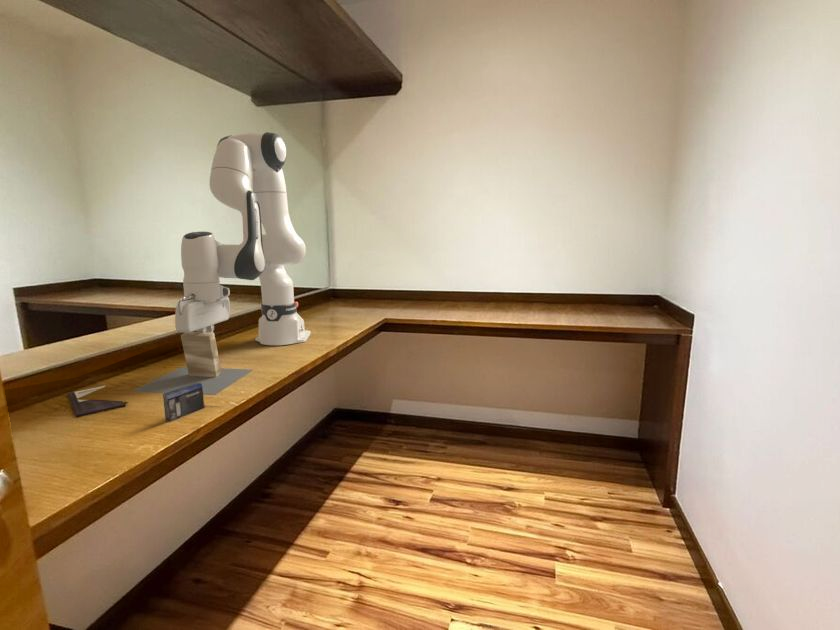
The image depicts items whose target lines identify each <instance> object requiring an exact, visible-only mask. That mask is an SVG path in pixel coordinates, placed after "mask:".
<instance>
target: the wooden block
mask: <svg viewBox="0 0 840 630" xmlns="http://www.w3.org/2000/svg"><path fill="white" fill-rule="evenodd" d="M215 336H216V335H215V332H213V333H206V332H196V331H193V332H190V333H182V334H180V340H181V344H182V348H183V353H184V354H183V355H184V358H185V363H186V364H185V365H186V367H187V368H188V373H189V376H207V377H217V376H218V375H219V374H221V373H222V372H221V363H220V357H219V353H218V346H217V341H216V337H215Z"/></svg>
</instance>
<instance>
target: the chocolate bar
mask: <svg viewBox="0 0 840 630" xmlns="http://www.w3.org/2000/svg"><path fill="white" fill-rule="evenodd" d="M108 385H109V384H108ZM108 385H102V386H98V387H92V388H87V389H82V390H78V391H72V392H67V397H68V400H69V403H70V406H71V408H72V410H73V414H74V415H75V418H81V417H86V416H91V415H95V414H99V413H103V412H107V411H112V410H117V409H121V408H126V403H125V401H123V400H108V399H107V400H103V399H102V400H101V399H87V398H86V399H85V398H84V399H82V398H81V397H84V396H86V395H89V394H92V393H94V392H96V391H98V390H100V389H103V388H105V387H107V386H108ZM79 398H80V399H79Z"/></svg>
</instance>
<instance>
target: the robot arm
mask: <svg viewBox="0 0 840 630" xmlns="http://www.w3.org/2000/svg"><path fill="white" fill-rule="evenodd" d="M287 157H288V152H287V146H286V143H285V141H284V139H283V138H282V137H281V136H280V135H279V134H277V133H275V132H269V131H267V132H247V133H241V134H240V133H239V134H235V135H227V136H224V137H222V138H220V139H219V141H218V142H217V145H216V150H215V153H214V155H213V158H212V164H211V167H210V168H211V170H210V176H209V189H210V192H211V194H212V196H213V197H214V198H215V199H216V200H218V202H220V203H221V204H223V205H225V206H227V207H229V208H231V209H234V210H235V211H238V212H240V214H241V217H242V236H243V237H242V239H243V240H242V241H241V243H239V244H224V243H221V242H220V241H217V240H216V238H215V235H214V233H213V232H209V231H193V232H189V233H185V235H183V237H182V239H181V244H180V260H181V267H182V270H183V279H182V283H183V284H182V285H183V294H184V295H183V296H181V297H180V298H179V300H178V301H177V304H176V307H175V313H174V315H175V317H174V324H175V325H174V326H175V330H176V332H178V333H180V334H181V333H182V334H184V333H190V332H206V333H214V330H215V325H216V324H218V323H221V322H225V321H228V320H229V319H230V315H231V307H230V306H231V303H230V298H229V296H230V293H231V291H230V288H229V287H226V286H224V285H222V284H220V279H221V278H223V279H239V280H246V281H254V280H256V279H257V278H258V279H259V281H260V292H261V304H260V306H261V307H260V311H261V312H260V313H261V315H262V316H260V317H259V318H258V336H256V337H255V341H256V342H259V343H260V344H261V345H264V346H285V345H294V344H299V343H305V342H306V341H307V340H308V339H309V337H310V336H311V334H312V332H311V331H310V330H307V329H305V328H306V327H305V320H304V319H303V318H302V317H301V315H299V313H298V309H297V308H299V302H298V301H295V295H294V294H295V293H294V289H295V288H294V281H293V279H292V278H291V277H290V276H289V275H288V273H287V271H286V269H285V267H286V266H287V267H289V266H293V265H294V266H295V265H298V264H300V263H301V262H303V261H304V260H305V257H306V254H307V247H306V244H305V241H304V240H303V239H302V238H301V237H300V236H299V235H298V234H297V232H296V230H295V228H294V225H293V223H292V220H291V216H290V212H289V204H288V203H289V202H288V193H287V186H286V179H285V176H284V175H285V174H284V170H283V166H284V165H285V163H286V161H287ZM251 185H252V186H251ZM262 227H263V230H264V232H265V233H263V230H262Z"/></svg>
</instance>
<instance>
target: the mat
mask: <svg viewBox="0 0 840 630" xmlns="http://www.w3.org/2000/svg"><path fill="white" fill-rule="evenodd" d="M253 371H254V369H251V368H250V369H246V368H221V372H222V373H221V374H219V375H218V376H217V377H207V376H189V373H188V368H187V366H180V367H178V368H177V369H175V370H172V371H170V372H168V373H166V374H164V375H162V376H159V377H157V378H156V379H153V380H151V381H149V382H147V383H145V384H143V385H141V386H139V387H136V388H135V389H132V390H130V392H133V393H134V392H135V393H138V392H139V393H153V394H155V393H157V394H164V393H167V392H170V391H173V390H176V389H179V388H182V387H185V386H188V385H191V384H194V383H197V382H198V383H201V384H202V388H203V396H204V395H205V396H206V395H207V396H216V395H218V394H219V393H221V392H222V391H224V390H225V389H228V387H230V386H232V385H233V384H234V383H236V382H237V381H239V380H241V379H242V378H244V377H245V376H247V375H248V374H250V373H251V372H253Z"/></svg>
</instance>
